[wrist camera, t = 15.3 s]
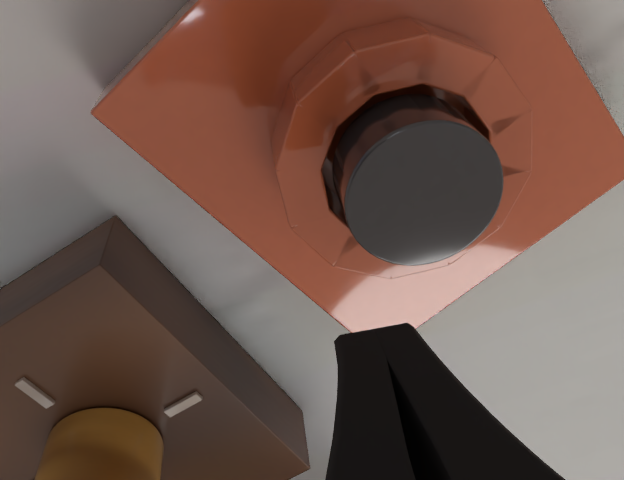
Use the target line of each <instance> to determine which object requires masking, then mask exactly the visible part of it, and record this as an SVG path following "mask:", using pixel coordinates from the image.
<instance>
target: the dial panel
mask: <svg viewBox="0 0 624 480" xmlns="http://www.w3.org/2000/svg"><path fill="white" fill-rule="evenodd" d="M92 408H116V409H122V410H126V411H130V412H132V413H135V414H137V415H140V416H142V417H143V418H145V419H147V420H148V421H149V422H150V423H152V424H153V425H154V426H155V427H156V428H157V430H158V431H159V433H160V435H161V437H162V440H163V446H164V450H163V459H162V468H161V477H160V480H289V479H291V478H293V477H295V476H297V475H299V474H301V473H303V472H305V471H307V470H309V469H310V463H309V456H308V449H307V441H306V434H305V427H304V420H303V413H302V410H301V409H300V408H299V407H298V406H297V405H296V404H295V403H294V402H293V401H292V400H291V399H290V398H289V397H288V396H287V395H286V394H285V393H284V391H283V390H282V389H281V388H280V387H279V386H278V385H277V384H276V383H275V382H274V381H273V380H272V379H271V378H270V377H269V376H268V375H267V374H266V373H265V372H264V370H263V369H262V368H261V367H260V366H259V365H258V364H257V363H256V362H255V361H254V360H253V359H252V358H251V357H250V356H249V355H248V354H247V353H246V352H245V351H244V350H243V348H242V347H241V346H240V345H239V344H238V343H237V342H236V341H235V340H234V339H233V338H232V337H231V336H230V335H229V334H228V333H227V332H226V331H225V330H224V329H223V327H222V326H221V325H220V324H219V323H218V322H217V321H216V320H215V319H214V318H213V317H212V316H211V315H210V314H209V313H208V312H207V311H206V310H205V309H204V308H203V307H202V305H201V304H200V303H199V302H198V301H197V300H196V299H195V298H194V297H193V296H192V295H191V294H190V293H189V292H188V291H187V290H186V289H185V288H184V287H183V286H182V284H181V283H180V282H179V281H178V280H177V279H176V278H175V277H174V276H173V275H172V274H171V273H170V272H169V271H168V270H167V269H166V268H165V267H164V266H163V265H162V264H161V262H160V261H159V260H158V259H157V258H156V257H155V256H154V255H153V254H152V253H151V252H150V251H149V250H148V249H147V248H146V247H145V246H144V245H143V244H142V243H141V241H140V240H139V239H138V238H137V237H136V236H135V235H134V234H133V233H132V232H131V231H130V230H129V229H128V228H127V227H126V226H125V225H124V224H123V223H122V222H121V221H120V219H119V218H118V217H117V216H114V217H112V218H111V219H109V220H108V221H106V222H105V223H103V224H102V225H100V226H98V227H97V228H95V229H94V230H92V231H91V232H89V233H87V234H86V235H84V236H83V237H81V238H80V239H78V240H77V241H75V242H73V243H72V244H70V245H69V246H67V247H66V248H64V249H62V250H61V251H59V252H58V253H56V254H55V255H53V256H52V257H50V258H48V259H47V260H45V261H44V262H42V263H41V264H39V265H37V266H36V267H34V268H33V269H31V270H30V271H28V272H27V273H25V274H23V275H22V276H20V277H19V278H17V279H16V280H14V281H12V282H11V283H9V284H8V285H6V286H5V287H3V288H2V289H0V480H34V479H35V476H36V473H37V470H38V467H39V464H40V460H41V457H42V454H43V451H44V448H45V445H46V442H47V439H48V436H49V434H50V432H51V430H52V429H53V428H54V427H55V426H56V424H57V423H58V422H60V421H61V420H62V419H64V418H65V417H67V416H69V415H71V414H73V413H76V412H79V411H82V410H86V409H92Z"/></svg>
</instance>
